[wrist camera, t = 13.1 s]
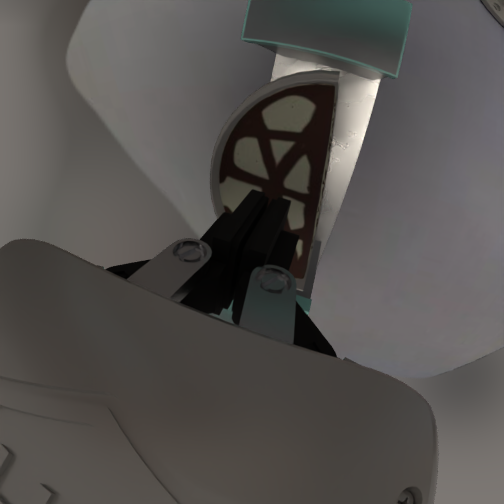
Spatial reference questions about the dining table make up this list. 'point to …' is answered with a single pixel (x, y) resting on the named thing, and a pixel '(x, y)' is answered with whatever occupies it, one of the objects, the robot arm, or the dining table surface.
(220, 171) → the food container
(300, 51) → the block
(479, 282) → the dining table surface
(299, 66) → the rail
